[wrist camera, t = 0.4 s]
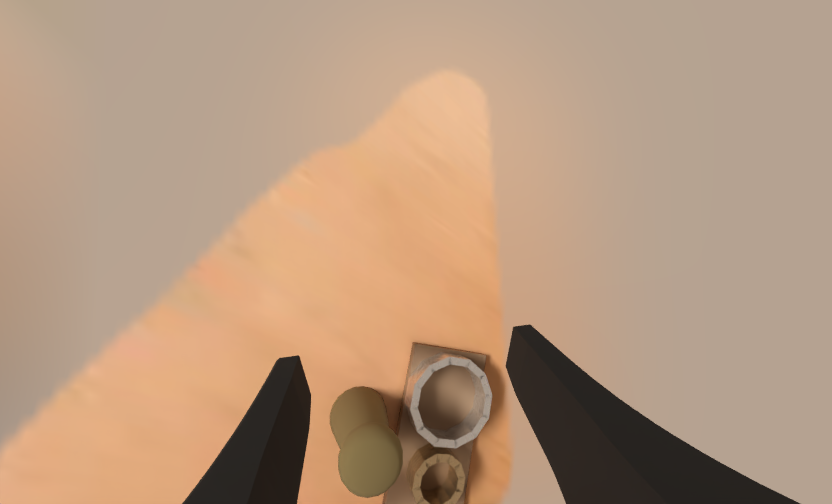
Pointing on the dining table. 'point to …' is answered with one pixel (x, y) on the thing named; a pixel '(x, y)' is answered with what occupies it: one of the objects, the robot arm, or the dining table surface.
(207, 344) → the dining table surface
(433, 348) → the smooth grayish brown board
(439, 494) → the narrow bronze ring
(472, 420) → the wide steel ring
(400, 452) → the olive bulbous peg
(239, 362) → the dining table surface
